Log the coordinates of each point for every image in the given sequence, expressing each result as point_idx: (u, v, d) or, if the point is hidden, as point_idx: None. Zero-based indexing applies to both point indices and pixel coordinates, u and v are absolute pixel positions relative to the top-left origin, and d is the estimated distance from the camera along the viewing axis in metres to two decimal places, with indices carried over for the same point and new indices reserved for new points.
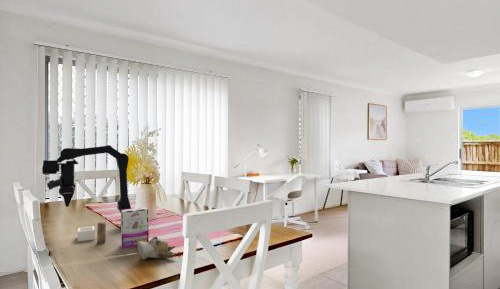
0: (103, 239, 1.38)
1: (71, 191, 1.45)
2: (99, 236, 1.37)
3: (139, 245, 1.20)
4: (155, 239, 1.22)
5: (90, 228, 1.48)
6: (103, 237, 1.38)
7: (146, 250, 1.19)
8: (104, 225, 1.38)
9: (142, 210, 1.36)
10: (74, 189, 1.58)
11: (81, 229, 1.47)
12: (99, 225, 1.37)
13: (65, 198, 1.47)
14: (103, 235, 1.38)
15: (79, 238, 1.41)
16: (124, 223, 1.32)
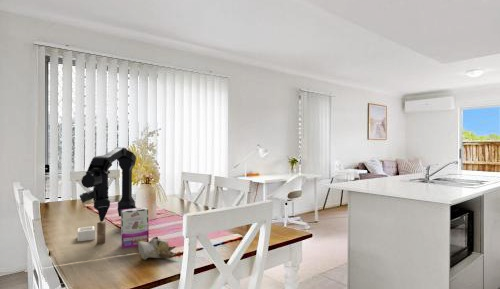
0: (103, 239, 1.38)
1: (107, 205, 1.32)
2: (99, 236, 1.38)
3: (140, 245, 1.20)
4: (156, 239, 1.22)
5: (90, 228, 1.48)
6: (103, 237, 1.38)
7: (147, 250, 1.19)
8: (104, 225, 1.39)
9: (142, 210, 1.36)
10: None
11: (81, 229, 1.47)
12: (99, 225, 1.38)
13: (100, 212, 1.34)
14: (103, 235, 1.38)
15: (79, 238, 1.41)
16: (124, 223, 1.32)
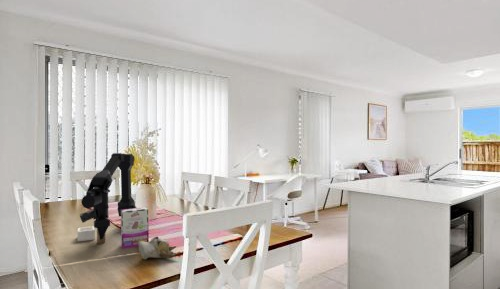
0: (103, 239, 1.38)
1: (107, 225, 1.32)
2: None
3: (140, 245, 1.20)
4: (156, 239, 1.22)
5: (90, 228, 1.48)
6: None
7: (147, 250, 1.19)
8: None
9: (142, 210, 1.36)
10: None
11: (81, 229, 1.47)
12: None
13: (100, 230, 1.36)
14: None
15: (79, 238, 1.41)
16: (124, 223, 1.32)
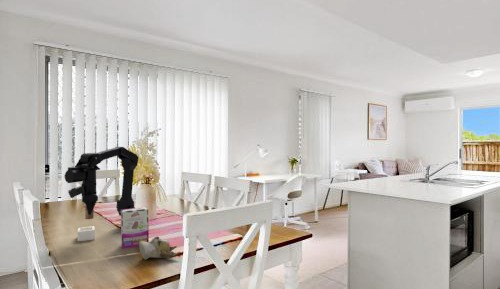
0: (91, 214, 1.43)
1: (95, 199, 1.37)
2: (87, 211, 1.42)
3: (141, 245, 1.20)
4: (157, 239, 1.22)
5: (90, 228, 1.48)
6: None
7: (148, 250, 1.19)
8: None
9: (142, 210, 1.36)
10: None
11: (81, 229, 1.47)
12: None
13: (88, 206, 1.41)
14: None
15: (79, 238, 1.41)
16: (124, 223, 1.32)
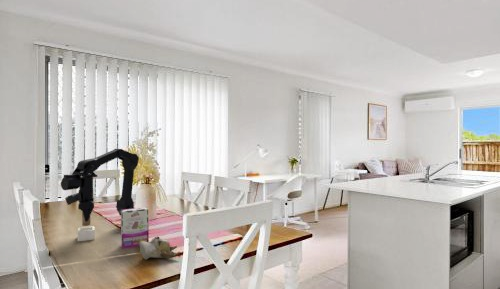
0: (88, 221, 1.44)
1: (91, 207, 1.38)
2: None
3: (141, 245, 1.20)
4: (157, 239, 1.22)
5: (90, 228, 1.48)
6: None
7: (148, 250, 1.19)
8: None
9: (142, 210, 1.36)
10: None
11: (81, 229, 1.47)
12: None
13: (84, 213, 1.42)
14: None
15: (79, 238, 1.41)
16: (124, 223, 1.32)
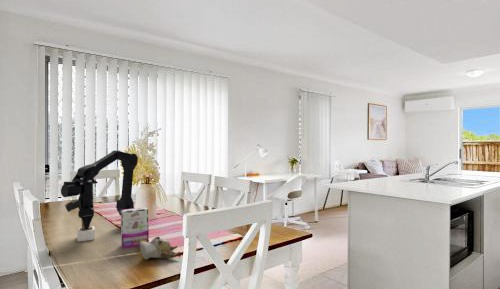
0: None
1: (91, 214, 1.38)
2: None
3: (141, 245, 1.20)
4: (158, 239, 1.22)
5: (90, 228, 1.48)
6: None
7: (148, 250, 1.19)
8: None
9: (142, 210, 1.36)
10: None
11: (81, 229, 1.47)
12: None
13: (84, 221, 1.40)
14: None
15: (79, 238, 1.41)
16: (124, 223, 1.32)
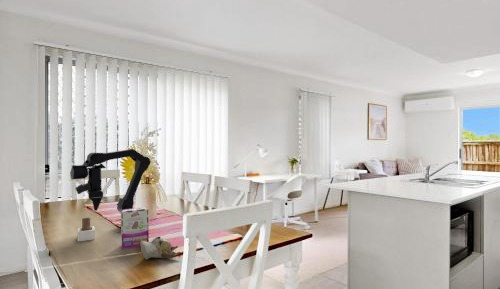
0: None
1: (100, 195, 1.47)
2: None
3: (142, 245, 1.20)
4: (158, 239, 1.22)
5: (90, 228, 1.48)
6: None
7: (149, 250, 1.19)
8: (88, 220, 1.45)
9: (142, 210, 1.36)
10: None
11: (81, 229, 1.47)
12: (83, 220, 1.44)
13: (94, 202, 1.49)
14: None
15: (79, 238, 1.41)
16: (124, 223, 1.32)
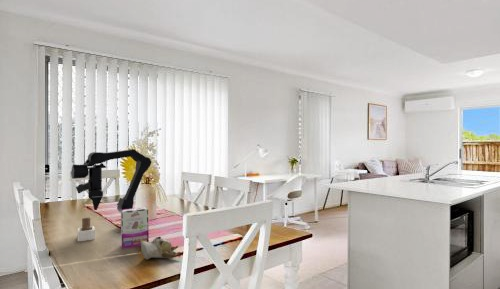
0: None
1: (100, 195, 1.48)
2: None
3: (142, 245, 1.20)
4: (159, 239, 1.22)
5: (90, 228, 1.48)
6: None
7: (149, 250, 1.19)
8: (88, 220, 1.45)
9: (142, 210, 1.36)
10: None
11: (81, 229, 1.47)
12: (83, 220, 1.44)
13: (94, 202, 1.49)
14: None
15: (79, 238, 1.41)
16: (124, 223, 1.32)
